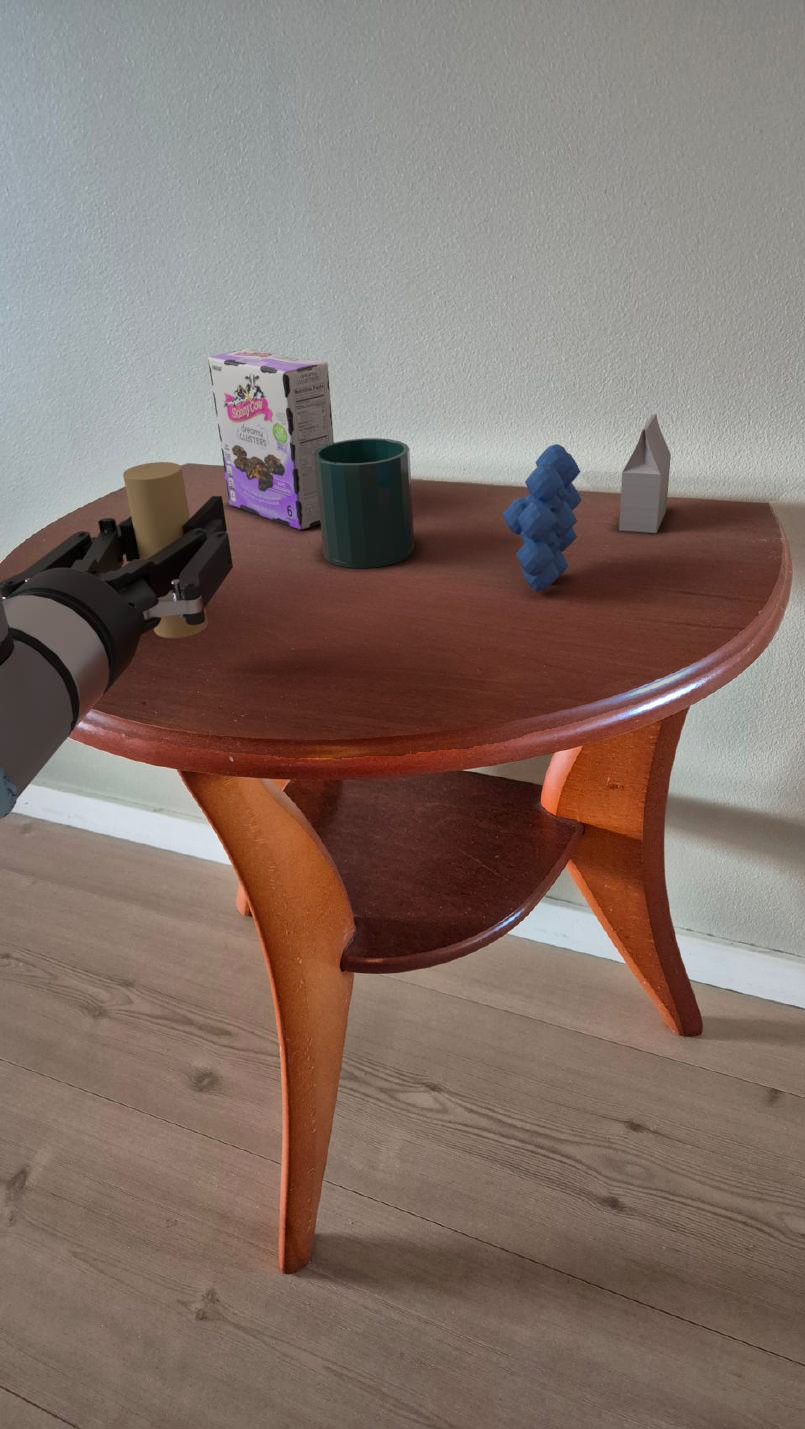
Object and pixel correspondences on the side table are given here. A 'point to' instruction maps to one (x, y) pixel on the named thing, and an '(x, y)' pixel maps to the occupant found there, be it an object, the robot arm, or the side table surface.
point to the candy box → (272, 431)
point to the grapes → (546, 517)
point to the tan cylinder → (159, 523)
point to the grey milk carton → (645, 482)
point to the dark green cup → (365, 502)
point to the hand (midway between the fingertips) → (190, 513)
